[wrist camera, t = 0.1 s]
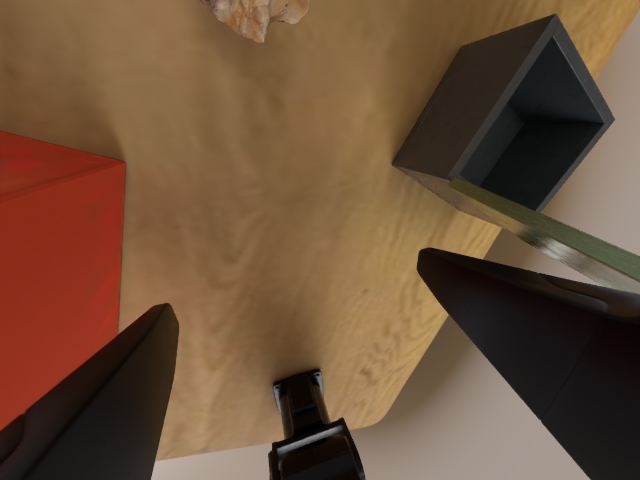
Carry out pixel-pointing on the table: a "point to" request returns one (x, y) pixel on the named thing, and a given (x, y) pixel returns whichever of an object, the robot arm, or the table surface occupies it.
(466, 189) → the lid
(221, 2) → the lion figurine
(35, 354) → the file binder
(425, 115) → the bin
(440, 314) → the table surface
